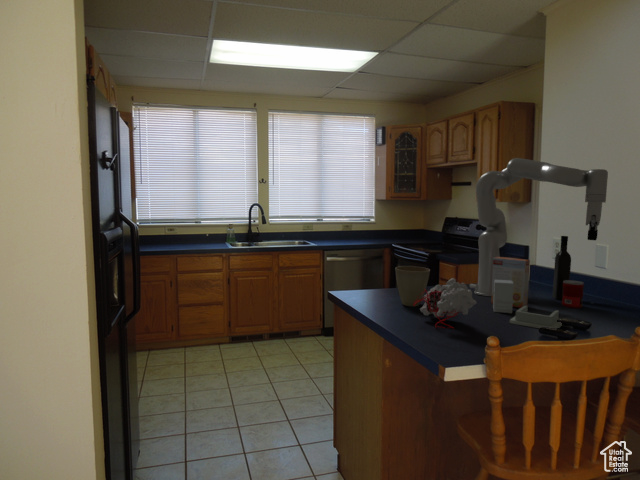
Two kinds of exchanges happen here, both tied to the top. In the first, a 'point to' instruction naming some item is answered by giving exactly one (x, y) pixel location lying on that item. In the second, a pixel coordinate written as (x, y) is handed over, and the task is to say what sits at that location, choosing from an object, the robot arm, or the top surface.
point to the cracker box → (513, 277)
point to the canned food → (572, 294)
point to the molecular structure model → (447, 300)
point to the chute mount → (535, 319)
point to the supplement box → (503, 296)
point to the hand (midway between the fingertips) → (592, 239)
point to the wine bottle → (561, 269)
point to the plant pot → (411, 283)
